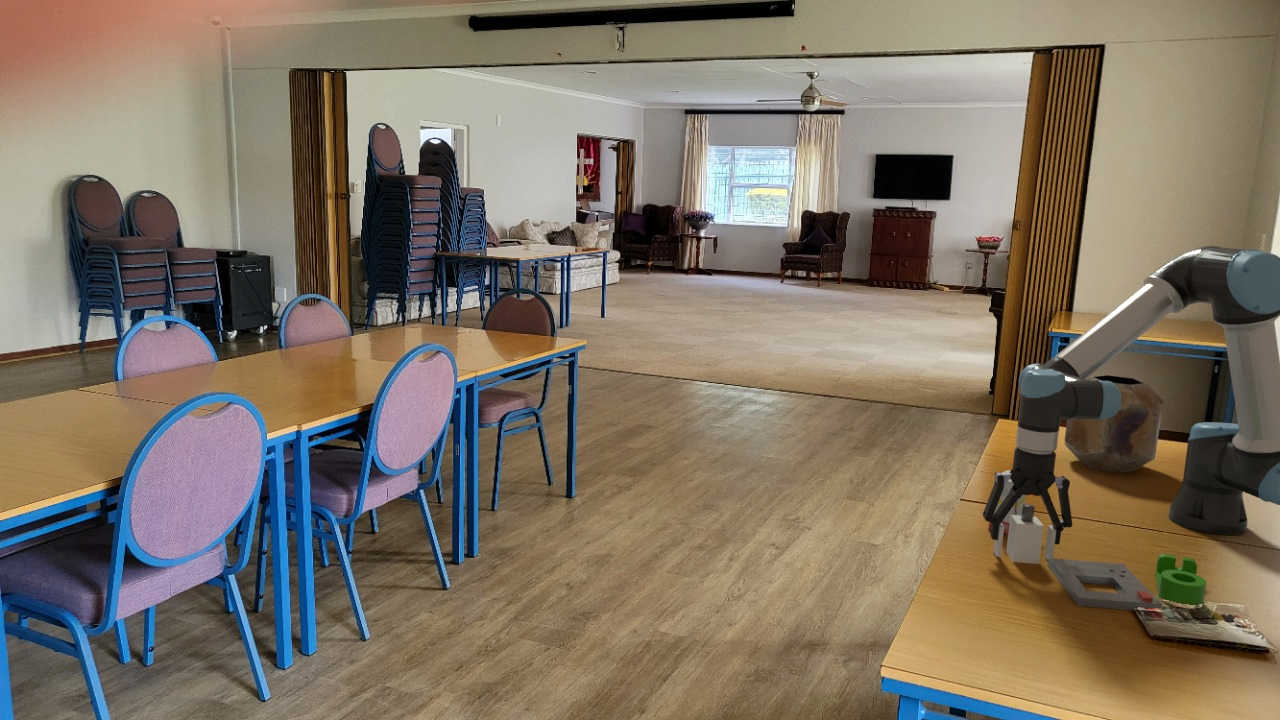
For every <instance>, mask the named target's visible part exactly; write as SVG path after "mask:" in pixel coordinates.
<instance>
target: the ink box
mask: <svg viewBox="0 0 1280 720" xmlns="http://www.w3.org/2000/svg"><path fill="white" fill-rule="evenodd" d="M1010 471H1011V470H1009V469H1006V470H1005V471H1003V472H1002V473H1010ZM994 483H995V477H994V479H993V484H994ZM1013 485H1014V484H1013V482H1012V481H1011V479H1010V480H1008V481H1007V484H1005V485H1004V489H1003V491H1002V494H1001V497H1000V499H999V502H998V504H997V507H996V510H995V512H996V511H997V509H998V508H999V506H1000V505H1001V504H1002V502H1003V501H1004V499H1005V498H1006V496H1007V495H1008V494H1009V492H1010V489H1011V488H1012V486H1013ZM1026 498H1027V495H1022V496H1021V498H1020V499H1018V500H1017V501H1016V503H1015V504H1014V506H1013V507H1012V508H1011V510H1010V511H1009V513H1008V514H1007V515H1006V517H1005V518H1004V520H1003V521H1002V522H1001V523H1002V524H1003V526H1004V533H1003V535H1004V534H1005V535H1007V536H1008V533H1009V524H1010V515H1019V516H1021V515H1022V506H1023V504H1026V501H1027V499H1026ZM995 512H994V513H995ZM991 525H992V523H991V522H988V528H987V530H988V531H991Z"/></svg>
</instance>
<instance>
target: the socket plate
mask: <svg viewBox="0 0 1280 720" xmlns="http://www.w3.org/2000/svg"><path fill="white" fill-rule="evenodd" d="M1047 566H1048V568H1049V569H1050V570H1051V572H1052V573H1053V574H1054V576H1055V577H1056V578H1057V580H1058V581H1059V583H1060V584H1061V586H1062V587H1063V588H1064V589H1065V591H1067V593H1068V594H1069V596H1070V597H1071V598H1072V599H1073V601H1074V602H1075V603H1076V605H1077V606H1079V607H1091V608H1101V609H1102V608H1104V609H1115V610H1124V611H1126V610H1129V611H1135V610H1134V609H1135V608H1138V607H1146V608H1163V607H1162V606H1163V604H1162V603H1161V601H1159V600H1158V598H1156V596H1155V595H1153V593H1152V592H1151V591H1150V590H1149V589H1148V588H1147V587H1146V586H1145V585H1144V584H1143V583H1142V581H1140V580H1139V579H1138V577H1137V576H1136V575H1134V574H1133V572H1132V571H1131V570H1130V569H1129V568H1128V567H1127V565H1125V564H1124V563H1114V562H1102V561H1101V562H1099V561H1091V560H1090V561H1089V560H1077V559H1075V560H1074V559H1064V558H1053V559H1052V558H1049V559H1048V560H1047ZM1083 584H1088V585H1089V584H1090V585H1102V586H1112V587H1113V588H1114V590H1116V591H1117V592H1110V591H1109V592H1108V591H1097V590H1095V591H1094V590H1087V589H1086V587H1085V586H1084V585H1083Z"/></svg>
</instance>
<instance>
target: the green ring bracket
mask: <svg viewBox="0 0 1280 720" xmlns="http://www.w3.org/2000/svg"><path fill="white" fill-rule="evenodd" d="M1176 562H1177V557H1176V555H1174V554H1173V555H1172V554H1168V553H1167V554H1166V553H1161V554H1159V555H1158V556H1157V560H1156V565H1155V566H1156V567H1155V571H1154V573H1155V580H1156V583H1157V589H1158V592H1157V597H1158V599H1159V598H1161V599H1165V600H1169V601H1173V602H1176V603H1181V604H1189V605H1199V604H1203V605H1204V601H1205V594H1206V588H1207V581H1206V579H1205V578H1203V577H1202V576H1200V575H1197V570H1198V564H1197V562H1196V560H1195V558H1194V559H1193V558H1191V557H1184V556H1183V557H1182V563H1181V566H1180V567H1177V566H1176ZM1161 599H1160V600H1161Z"/></svg>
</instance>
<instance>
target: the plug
mask: <svg viewBox="0 0 1280 720" xmlns="http://www.w3.org/2000/svg"><path fill="white" fill-rule="evenodd" d="M1035 508H1036V507H1035V505H1033V504H1030V503H1025V504H1023V506H1022V515H1021V516H1019V515H1010V524H1009V533H1008V535H1007V543H1006V555H1008V557H1009V558H1010V560H1011V562H1012V563H1020V564H1021V563H1022V564H1035V565H1039V564H1040V559H1041V550H1042V542H1043V535H1044V524H1043V523H1042V522H1041V521H1040V519H1039V518H1038V517H1037V516H1034V513H1035Z"/></svg>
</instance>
